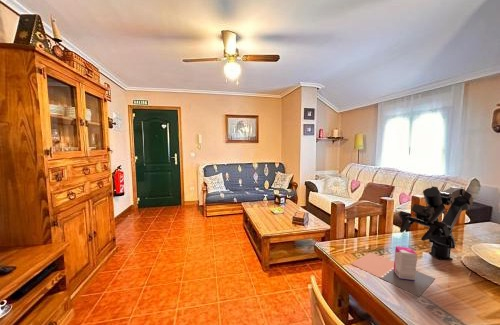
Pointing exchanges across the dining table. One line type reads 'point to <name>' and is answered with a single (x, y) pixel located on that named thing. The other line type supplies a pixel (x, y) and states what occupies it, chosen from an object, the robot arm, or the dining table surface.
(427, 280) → the ticket mat
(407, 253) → the supplement box
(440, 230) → the robot arm
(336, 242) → the dining table surface
